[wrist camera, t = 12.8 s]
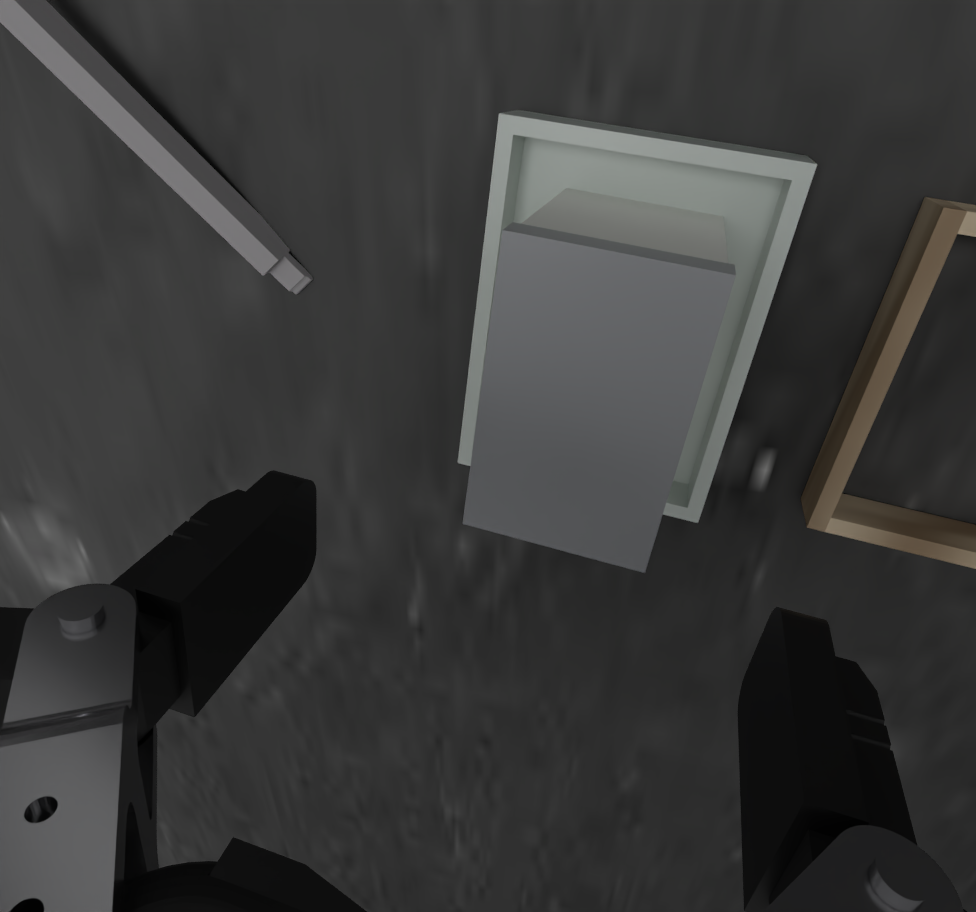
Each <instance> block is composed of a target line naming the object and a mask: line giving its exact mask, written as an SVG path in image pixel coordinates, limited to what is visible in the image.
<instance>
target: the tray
mask: <svg viewBox="0 0 976 912" xmlns="http://www.w3.org/2000/svg"><path fill="white" fill-rule="evenodd" d="M816 166H817V164H816V163H815V162H814V161H813V160H811V159H810V158H809V157H808V156H807V155H801V154H794V153H788V152H782V151H775V150H769V149H763V148H756V147H750V146H744V145H737V144H731V143H725V142H718V141H712V140H706V139H699V138H693V137H687V136H680V135H674V134H668V133H661V132H655V131H649V130H642V129H636V128H630V127H624V126H617V125H611V124H605V123H598V122H592V121H586V120H579V119H573V118H567V117H560V116H554V115H548V114H541V113H535V112H529V111H522V110H515V111H510V112H504V113H499V119H498V127H497V135H496V144H495V152H494V161H493V169H492V178H491V186H490V194H489V203H488V211H487V220H486V228H485V237H484V245H483V253H482V262H481V270H480V279H479V287H478V296H477V304H476V312H475V321H474V329H473V338H472V346H471V355H470V363H469V371H468V380H467V388H466V397H465V405H464V414H463V422H462V430H461V439H460V447H459V456H458V463H460V464H464V465H468V466H470V465H471V458H472V451H473V443H474V436H475V429H476V421H477V414H478V406H479V399H480V392H481V384H482V377H483V370H484V362H485V355H486V347H487V340H488V333H489V325H490V318H491V311H492V303H493V296H494V289H495V281H496V274H497V266H498V259H499V252H500V244H501V237H502V230H503V229H504V228H506V227H507V226H508V225H510V224H511V223H512V222H515V223H520V224H521V223H522V222H524V221H525V220H526V219H527V218H529V217H530V216H531V215H532V214H534V213H535V212H536V211H538V210H539V209H540V208H541V207H543V206H544V205H545V204H546V203H548V202H549V201H550V200H552V199H553V198H554V197H555V196H557V195H558V194H559V193H560V192H562V191H563V190H564V189H566V188H570V189H575V190H581V191H586V192H592V193H597V194H603V195H608V196H614V197H620V198H625V199H631V200H636V201H642V202H647V203H653V204H658V205H664V206H669V207H675V208H680V209H686V210H691V211H697V212H702V213H708V214H713V215H719V216H723V217H724V227H725V237H726V246H727V256H728V264H733V265H735V271H736V277H735V280H734V284H733V287H732V290H731V293H730V297H729V300H728V303H727V306H726V310H725V313H724V316H723V319H722V323H721V326H720V329H719V332H718V336H717V339H716V342H715V346H714V349H713V352H712V355H711V359H710V362H709V365H708V368H707V372H706V375H705V378H704V381H703V385H702V388H701V391H700V394H699V398H698V401H697V404H696V407H695V411H694V414H693V417H692V421H691V424H690V427H689V430H688V434H687V437H686V440H685V443H684V447H683V450H682V453H681V456H680V460H679V463H678V466H677V469H676V473H675V476H674V479H673V482H672V486H671V489H670V492H669V496H668V499H667V502H666V505H665V509H664V512H663V514H664V515H668V516H672V517H676V518H680V519H684V520H688V521H692V522H696V523H698V521H699V518H700V515H701V512H702V509H703V506H704V503H705V500H706V497H707V494H708V491H709V488H710V485H711V482H712V479H713V476H714V473H715V470H716V467H717V464H718V461H719V458H720V455H721V452H722V449H723V446H724V443H725V440H726V437H727V434H728V431H729V428H730V425H731V422H732V419H733V416H734V413H735V410H736V407H737V404H738V401H739V398H740V395H741V392H742V389H743V386H744V383H745V380H746V377H747V374H748V371H749V368H750V365H751V362H752V359H753V356H754V353H755V350H756V347H757V344H758V341H759V338H760V335H761V332H762V329H763V326H764V323H765V320H766V317H767V314H768V311H769V308H770V305H771V302H772V299H773V296H774V293H775V290H776V287H777V284H778V281H779V278H780V275H781V272H782V269H783V266H784V263H785V260H786V257H787V254H788V251H789V248H790V245H791V242H792V239H793V236H794V233H795V230H796V227H797V224H798V221H799V218H800V215H801V212H802V209H803V206H804V203H805V200H806V197H807V194H808V190H809V187H810V184H811V181H812V178H813V175H814V172H815V169H816Z"/></svg>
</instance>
